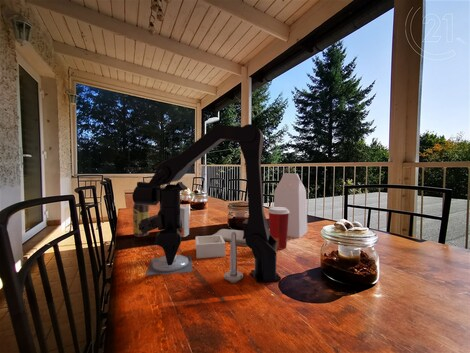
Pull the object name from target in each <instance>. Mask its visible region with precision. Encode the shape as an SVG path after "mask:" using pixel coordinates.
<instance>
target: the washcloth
mask: <svg viewBox="0 0 470 353" xmlns="http://www.w3.org/2000/svg"><path fill="white" fill-rule="evenodd" d="M232 232H234V233H236V242H237V243H236V244H237V245H236V246H245V247H248V246H247V245H246V241H245V239H243V236H244V232H243V230H237V229H227V228H221V229H219V230H217V232H215V233H213V234H212V235H211V236H215V235H222V237H223V239H224V241H225V242H228V243H229V244H230V243H231V233H232Z"/></svg>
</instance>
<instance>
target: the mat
mask: <svg viewBox="0 0 470 353" xmlns="http://www.w3.org/2000/svg"><path fill="white" fill-rule="evenodd" d="M184 256H185V257H187V258H188V266H187V267H185V268H183V269H181V270H178V271H173V272H160V271H156V270H154V269H153V261H154V260H156V259H157V258H158V257H153V258H151V260H150V262H149V263H150V264H149V265H148V268H147V271H146V274H145V276H147V277H149V276H157V275H159V276H160V275H169V274H180V273H181V274H183V273H184V274H185V273H192V272H193V260H192V259H193V258H192V255H184Z"/></svg>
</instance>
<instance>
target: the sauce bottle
mask: <svg viewBox="0 0 470 353" xmlns="http://www.w3.org/2000/svg"><path fill="white" fill-rule="evenodd" d="M149 206H150V205H137V204H135V203H134V204H133V207H132V224H133V225H132V227H133V228H132V229H133V231H132V232H133V236H135V237H136V238H143V237H147V236H148V235H149V234H150V231H149V232H147V233H145V234H142V232H141V230H139V225H138V223H139V222H140V221H141V220H142V219H145V218H149V217H150V211H149V210H150V208H149Z"/></svg>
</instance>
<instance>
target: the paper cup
mask: <svg viewBox="0 0 470 353" xmlns="http://www.w3.org/2000/svg"><path fill="white" fill-rule="evenodd" d="M267 213H268V227H269V231H270V235H271V236H272V237H273V238H274V239H275V240H276V241H277V242H278V243H277V249H276V250H285V249H286V248H287V244H288V243H287V242H288V236H287V232H288V216H289V213H290V212H289V210H288V209H287V208H284V207H274V206H272V207H269V208H268V211H267Z"/></svg>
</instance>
